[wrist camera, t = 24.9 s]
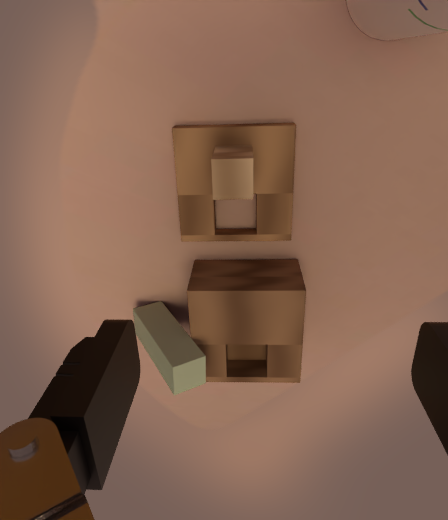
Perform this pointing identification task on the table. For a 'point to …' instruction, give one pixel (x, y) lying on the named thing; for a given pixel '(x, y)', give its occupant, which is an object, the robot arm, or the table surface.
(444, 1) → the cylindrical container
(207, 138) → the lid
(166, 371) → the green square block
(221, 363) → the box
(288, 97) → the table surface
